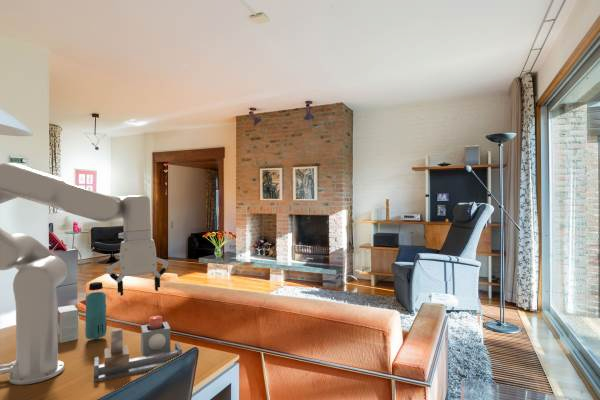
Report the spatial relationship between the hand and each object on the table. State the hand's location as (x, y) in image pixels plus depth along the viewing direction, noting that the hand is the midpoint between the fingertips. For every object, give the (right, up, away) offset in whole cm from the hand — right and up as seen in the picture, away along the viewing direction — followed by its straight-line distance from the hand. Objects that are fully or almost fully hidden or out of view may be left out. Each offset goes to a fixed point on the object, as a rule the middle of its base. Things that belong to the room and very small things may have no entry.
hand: (139, 292), depth 108 cm
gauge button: (+2, -13, +7) cm, 15 cm away
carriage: (-4, -18, -7) cm, 20 cm away
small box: (-34, -21, +18) cm, 44 cm away
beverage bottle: (-22, -21, +16) cm, 35 cm away
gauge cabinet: (+2, -21, +7) cm, 22 cm away
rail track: (+2, -21, -4) cm, 21 cm away
